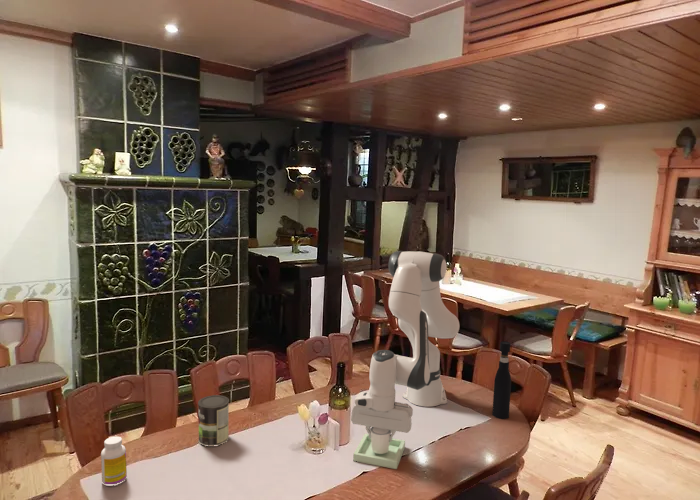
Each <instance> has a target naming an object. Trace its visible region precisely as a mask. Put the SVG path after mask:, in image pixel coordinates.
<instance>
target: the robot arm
mask: <svg viewBox="0 0 700 500" xmlns="http://www.w3.org/2000/svg"><path fill="white" fill-rule="evenodd" d="M447 265H448V264H447V261H446V258H445V257H444V255H442V254H439V253H431V252H425V251H419V250H418V251H412V250H411V251H408V250H407V251H403V250H398V251H394V252H392V254H390V256H389V260H388V263H387V266H388V268H387V269H388V272H389V273H390V276H392V282H391V286H390V289H389V295H388V309H389V311H390V312H391V314H392V315H393V316H394V317H396V318H397V324H398V327H399V329H400V330H401V331H402V332H403V333H404V334H405V335H406V336H407V338H408V340H409V342H410V345H411V347H412V357H410V356H409V357H408V356H403V355H399V354H395V353H394V352H393V351H392V350H388V349H380V350H376V351H375V352H373V354H371V355H372V356H371V359H370V365H369V375H368V376H369V377H368V379H369V383H370V385H369V389H368V390H367V391H366V390H365V391H360V392H359V393H358V394H357V395H356V397H355V398H354V405H353V406H352V409H351V416H350V422H351V423H352V424H354V425H358V426H359V425H360V426H364V427H365V430H366V432H367V434H369V438H370V439H371V428H372V427H375V428H381V429H387V430H391V435H390V437H389V442H392V438H393V437H394V435H395V434H396V432H399V433H400V432H401V433H405V434H408V433H409V432H410V431H411V430H412V424H413V423H412V418H413V417H412V416H413V413H414V409H413V407H412V406H411V405H409V404H408V403H403V402H397V401H396V393H397V392H396V388H395V385H399V386H404V387H407V388H406V391H405V392H404V393H402V398H404V399H406V400H408V402H410V403H411V404H413V405H416V406H419V407H426V408H427V407H435V406H436V407H437V406H439V405H445V404H448V399H447V394H446V390H445V387H443V386H444V385H443V384H444V383H442V379H441V367H440V361H441V360H440V359H441V352H440V350H439V348H438V347H437V345H435V344H433V343H432V342H431V341H430V340H429V338H435V339H443V340H445V339H454V338H455V337H456V336H457V335H458V333H459V332H460V331H459V330H460V321H459V319H458V317H457V316H456V315H455V314H454V313H452V312H451V311H450V310H449V309H448V308H447V307H446V305H445V304H444V302H443V299H442V297H441V287H440V285H441V284H440V281H442V280H443V279H444V278H445V275H446V273H447V267H448V266H447Z"/></svg>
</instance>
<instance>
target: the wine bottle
mask: <svg viewBox="0 0 700 500" xmlns="http://www.w3.org/2000/svg"><path fill="white" fill-rule="evenodd" d="M499 351H500V352H501V354H500V357H499V361H498V368H497V370H496V373H495V376H494V379H493V381H494V384H493V396H492V397H493V399H492V416H493V417H494V418H496V419H500V420H505V419H509V417H510V403H511V391H512V378H511V372H510V369H509V368H510V362H509V359H510V357H509V352H511V342H510V341H504V340H503V341H500V344H499Z"/></svg>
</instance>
